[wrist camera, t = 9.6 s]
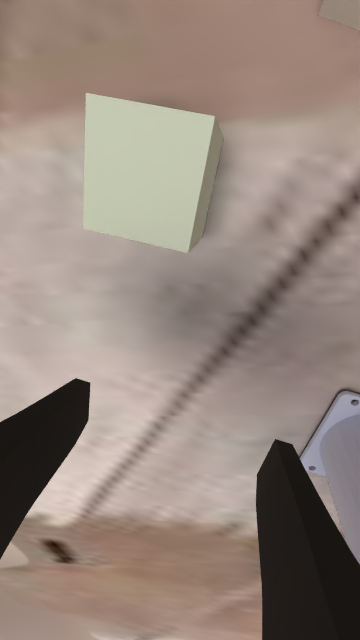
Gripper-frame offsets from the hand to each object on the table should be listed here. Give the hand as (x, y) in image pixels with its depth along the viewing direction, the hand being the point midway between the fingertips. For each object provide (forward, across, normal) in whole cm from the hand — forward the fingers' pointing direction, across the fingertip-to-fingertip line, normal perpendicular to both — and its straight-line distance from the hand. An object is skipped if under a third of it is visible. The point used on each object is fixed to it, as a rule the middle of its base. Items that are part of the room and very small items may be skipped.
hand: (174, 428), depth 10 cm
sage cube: (+10, +4, -8) cm, 13 cm away
